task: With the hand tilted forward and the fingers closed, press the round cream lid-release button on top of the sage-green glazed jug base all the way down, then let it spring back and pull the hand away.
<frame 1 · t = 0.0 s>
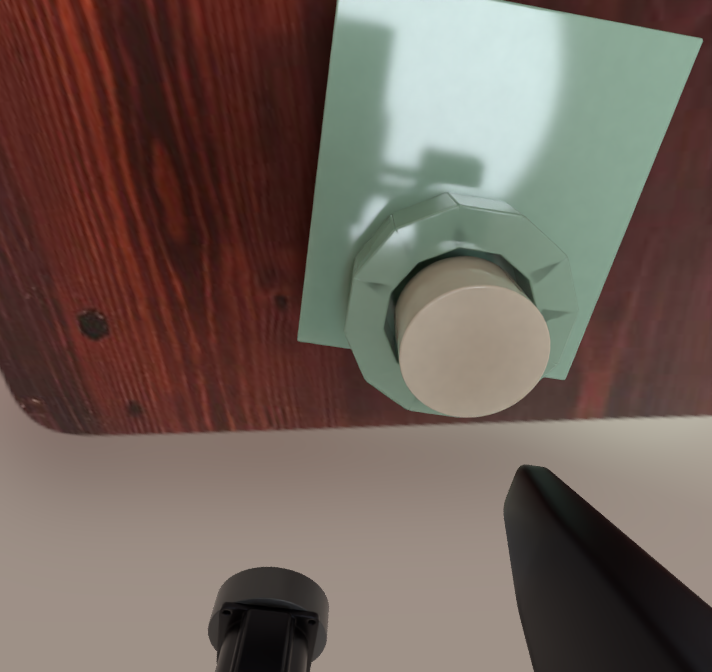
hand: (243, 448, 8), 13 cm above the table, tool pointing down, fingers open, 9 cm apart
jug button: (465, 335, 14), point 7 cm above the table, slide at 0.1 cm
jug base: (451, 189, 19), on the table
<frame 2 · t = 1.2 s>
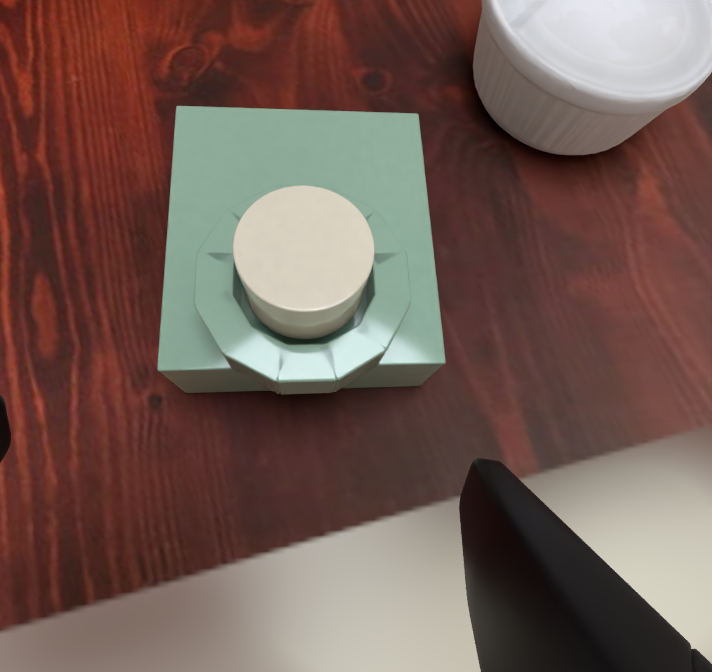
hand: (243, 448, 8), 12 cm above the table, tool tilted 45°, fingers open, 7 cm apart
jug button: (304, 265, 15), point 7 cm above the table, slide at 0.1 cm
ramekin: (550, 93, 27), on the table
jug base: (303, 271, 22), on the table
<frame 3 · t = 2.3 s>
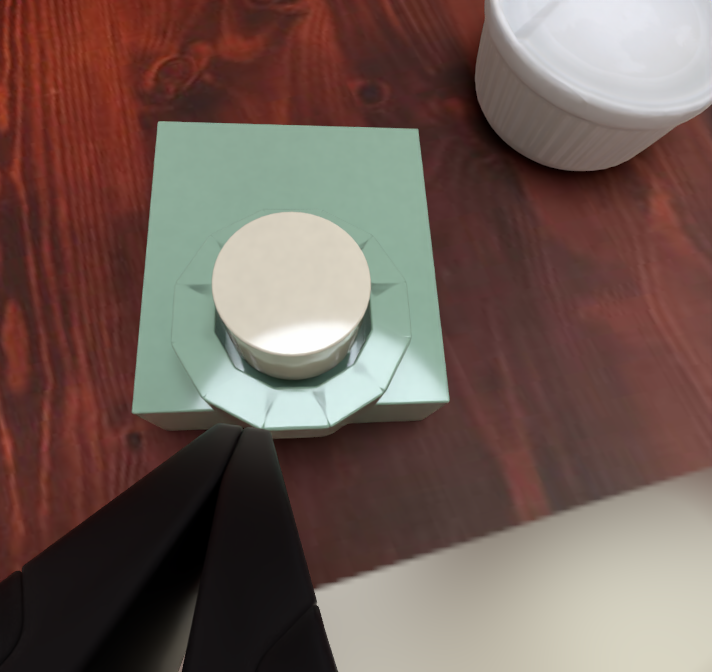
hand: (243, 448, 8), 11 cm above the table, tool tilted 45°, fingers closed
jug button: (293, 299, 13), point 7 cm above the table, slide at 0.1 cm
ramekin: (555, 105, 26), on the table
jug base: (295, 296, 21), on the table
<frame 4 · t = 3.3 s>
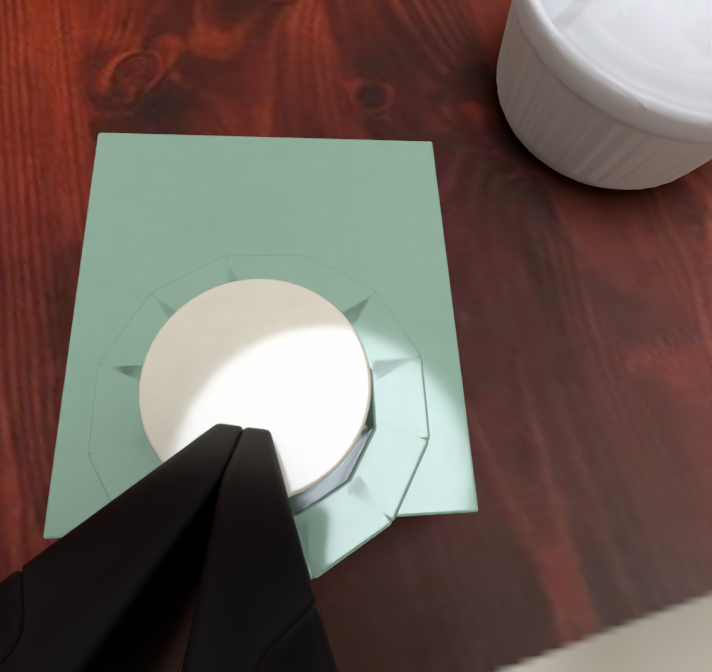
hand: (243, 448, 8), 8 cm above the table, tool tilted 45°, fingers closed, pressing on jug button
jug button: (263, 396, 10), point 7 cm above the table, slide at -0.2 cm, touching gripper
ramekin: (591, 110, 22), on the table
jug base: (278, 348, 17), on the table
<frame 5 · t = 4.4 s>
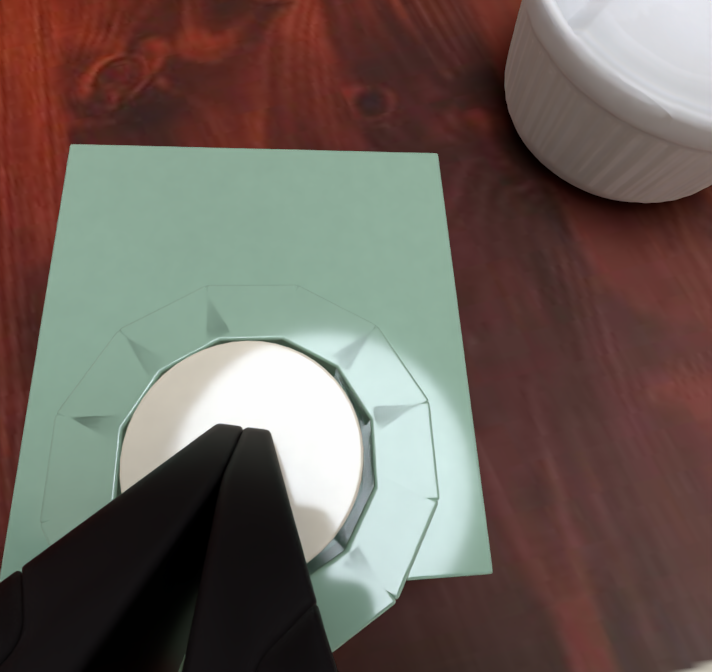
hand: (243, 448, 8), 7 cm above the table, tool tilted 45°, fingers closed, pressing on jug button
jug button: (252, 460, 9), point 5 cm above the table, slide at -1.3 cm, touching gripper
ramekin: (604, 117, 21), on the table
jug base: (270, 377, 15), on the table
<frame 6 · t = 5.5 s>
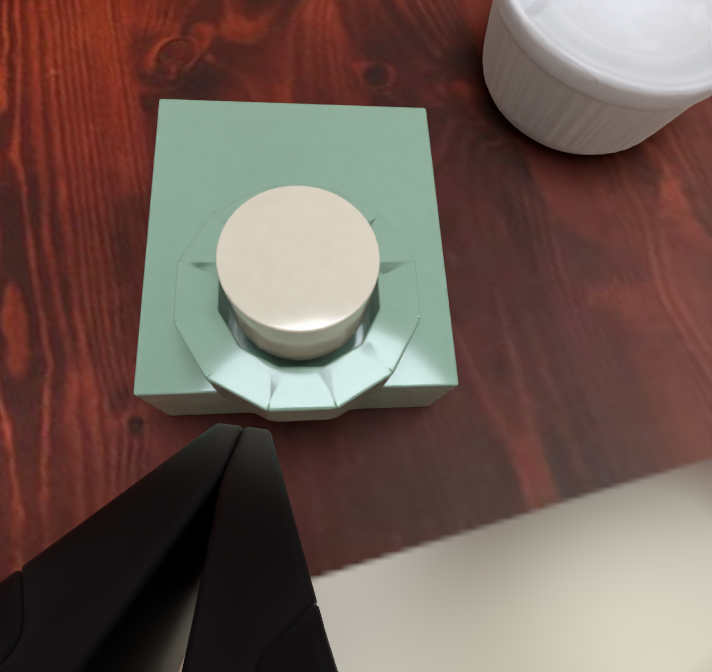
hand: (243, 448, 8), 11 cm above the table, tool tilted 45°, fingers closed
jug button: (299, 276, 13), point 7 cm above the table, slide at 0.1 cm
ramekin: (564, 88, 26), on the table
jug base: (299, 280, 20), on the table
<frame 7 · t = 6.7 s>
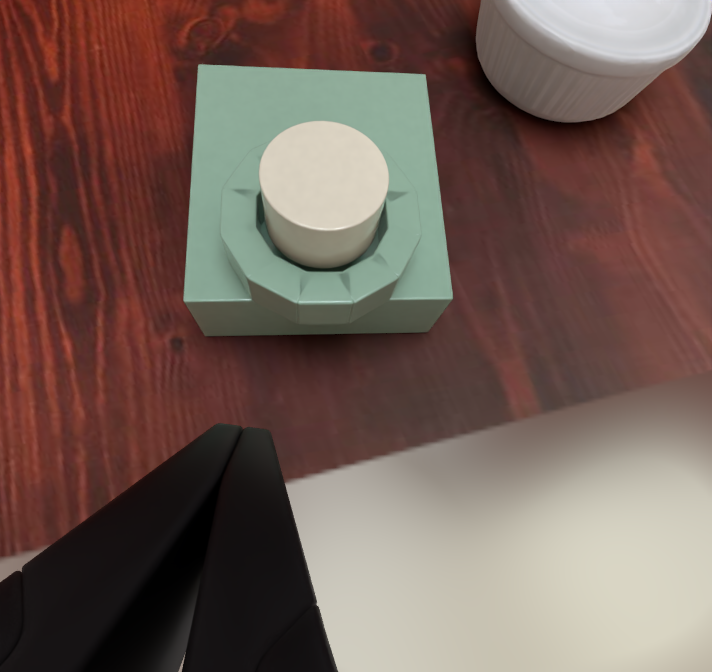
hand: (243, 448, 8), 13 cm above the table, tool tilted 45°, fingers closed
jug button: (323, 197, 16), point 7 cm above the table, slide at 0.1 cm
ramekin: (549, 65, 29), on the table
jug base: (316, 226, 23), on the table
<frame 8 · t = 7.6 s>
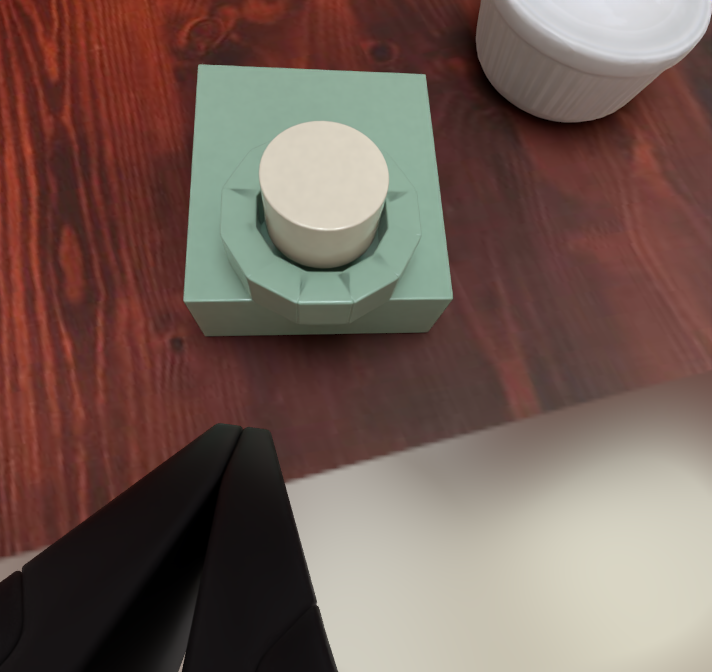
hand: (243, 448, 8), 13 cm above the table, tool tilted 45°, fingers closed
jug button: (323, 197, 16), point 7 cm above the table, slide at 0.1 cm
ramekin: (549, 65, 29), on the table
jug base: (316, 226, 23), on the table
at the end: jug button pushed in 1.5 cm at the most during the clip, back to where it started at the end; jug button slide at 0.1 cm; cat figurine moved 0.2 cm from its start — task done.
